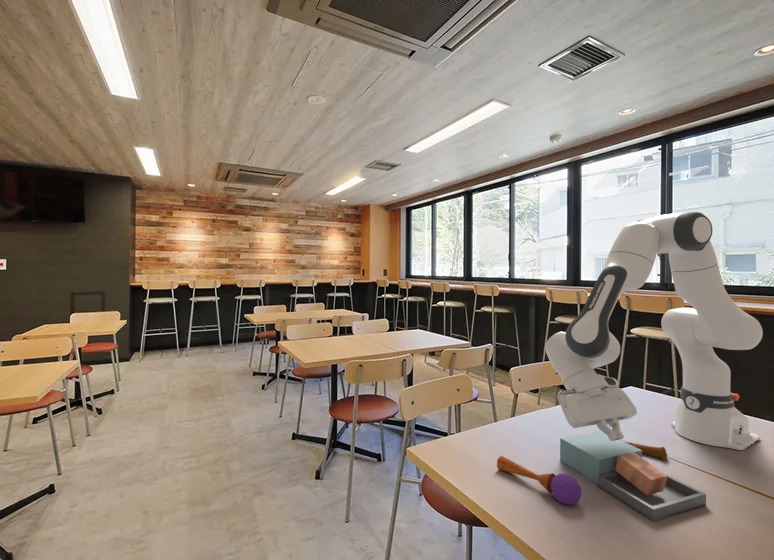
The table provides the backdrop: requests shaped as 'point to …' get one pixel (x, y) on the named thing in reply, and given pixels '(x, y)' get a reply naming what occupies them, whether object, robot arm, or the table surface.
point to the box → (653, 496)
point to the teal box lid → (593, 453)
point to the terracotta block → (641, 473)
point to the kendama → (547, 481)
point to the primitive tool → (651, 450)
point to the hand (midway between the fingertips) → (617, 439)
